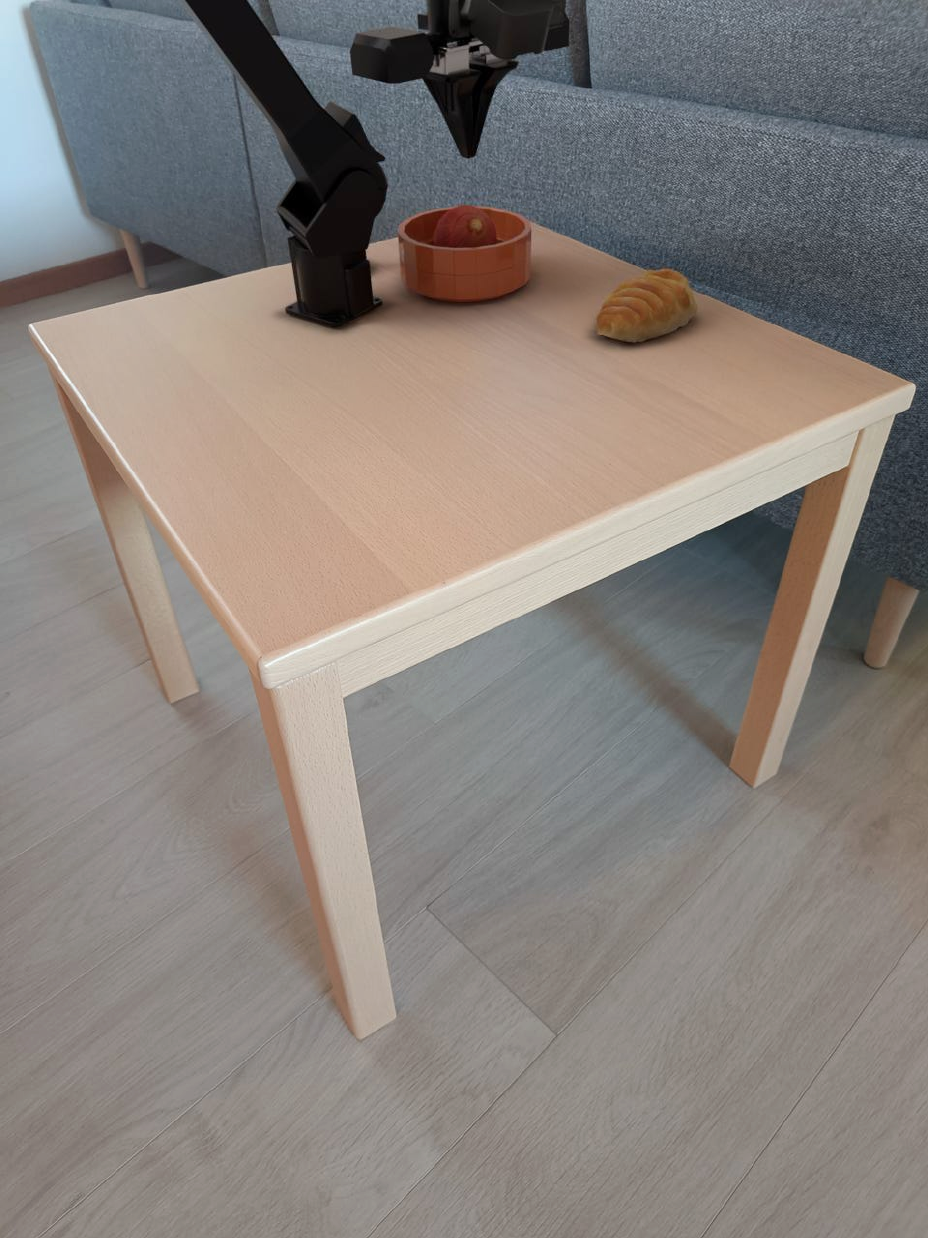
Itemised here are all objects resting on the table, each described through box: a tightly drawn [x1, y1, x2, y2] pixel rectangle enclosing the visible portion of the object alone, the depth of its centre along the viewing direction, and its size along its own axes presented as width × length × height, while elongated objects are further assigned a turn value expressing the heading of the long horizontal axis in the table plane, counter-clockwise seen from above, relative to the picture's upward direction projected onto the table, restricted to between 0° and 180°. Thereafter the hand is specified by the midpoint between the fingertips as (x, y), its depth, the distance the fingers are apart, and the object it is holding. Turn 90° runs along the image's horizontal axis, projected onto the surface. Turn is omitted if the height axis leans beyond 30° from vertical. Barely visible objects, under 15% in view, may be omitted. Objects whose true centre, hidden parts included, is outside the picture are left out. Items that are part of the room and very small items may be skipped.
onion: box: [434, 204, 497, 248], centre depth 83 cm, size 6×6×8 cm
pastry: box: [595, 268, 699, 344], centre depth 75 cm, size 9×7×4 cm
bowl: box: [397, 205, 532, 303], centre depth 83 cm, size 12×12×5 cm
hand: (468, 156), depth 78 cm, fingers closed
